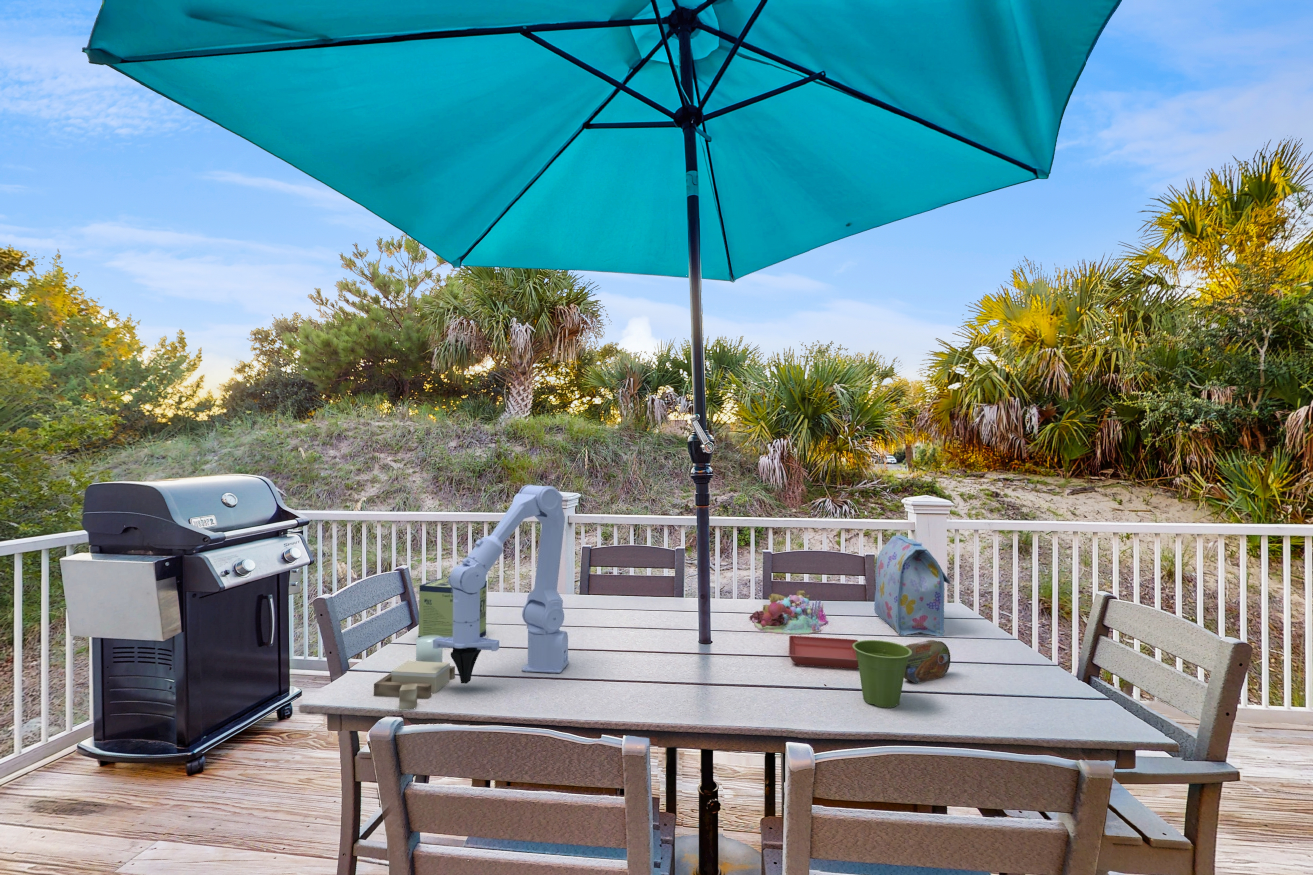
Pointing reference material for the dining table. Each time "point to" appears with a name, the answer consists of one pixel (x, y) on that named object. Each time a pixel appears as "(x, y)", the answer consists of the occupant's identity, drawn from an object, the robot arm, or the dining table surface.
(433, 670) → the beige rectangular block
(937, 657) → the tin
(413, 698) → the beech block
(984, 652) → the dining table surface
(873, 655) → the plant pot
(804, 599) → the coral reef model
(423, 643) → the dome-topped pale cylinder
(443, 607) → the protein box
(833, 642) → the plant saucer
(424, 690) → the brown square frame
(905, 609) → the lunch bag
